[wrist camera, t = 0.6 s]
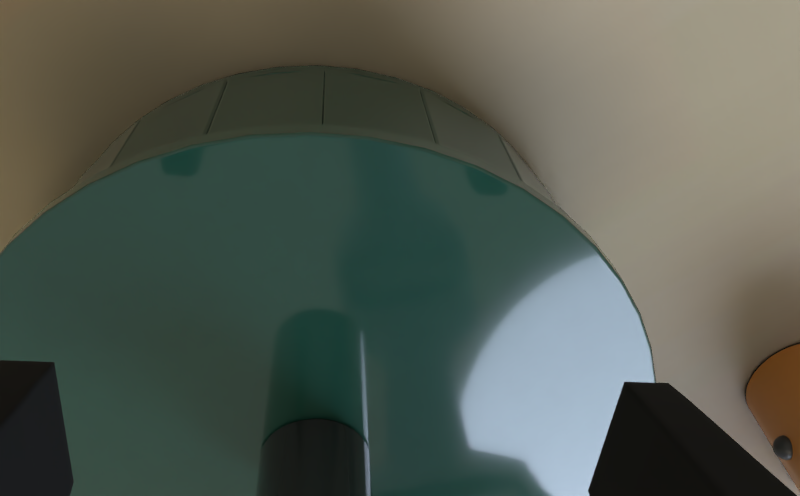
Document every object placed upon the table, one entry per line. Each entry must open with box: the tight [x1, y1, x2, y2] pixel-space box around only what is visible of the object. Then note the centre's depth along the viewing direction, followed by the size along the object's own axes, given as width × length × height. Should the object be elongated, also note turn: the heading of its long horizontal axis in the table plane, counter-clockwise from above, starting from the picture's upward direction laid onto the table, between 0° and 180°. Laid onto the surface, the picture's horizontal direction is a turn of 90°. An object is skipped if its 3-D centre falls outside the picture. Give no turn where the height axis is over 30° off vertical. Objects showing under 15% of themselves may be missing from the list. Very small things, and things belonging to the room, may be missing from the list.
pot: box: [73, 65, 556, 204], centre depth 19 cm, size 14×14×5 cm
